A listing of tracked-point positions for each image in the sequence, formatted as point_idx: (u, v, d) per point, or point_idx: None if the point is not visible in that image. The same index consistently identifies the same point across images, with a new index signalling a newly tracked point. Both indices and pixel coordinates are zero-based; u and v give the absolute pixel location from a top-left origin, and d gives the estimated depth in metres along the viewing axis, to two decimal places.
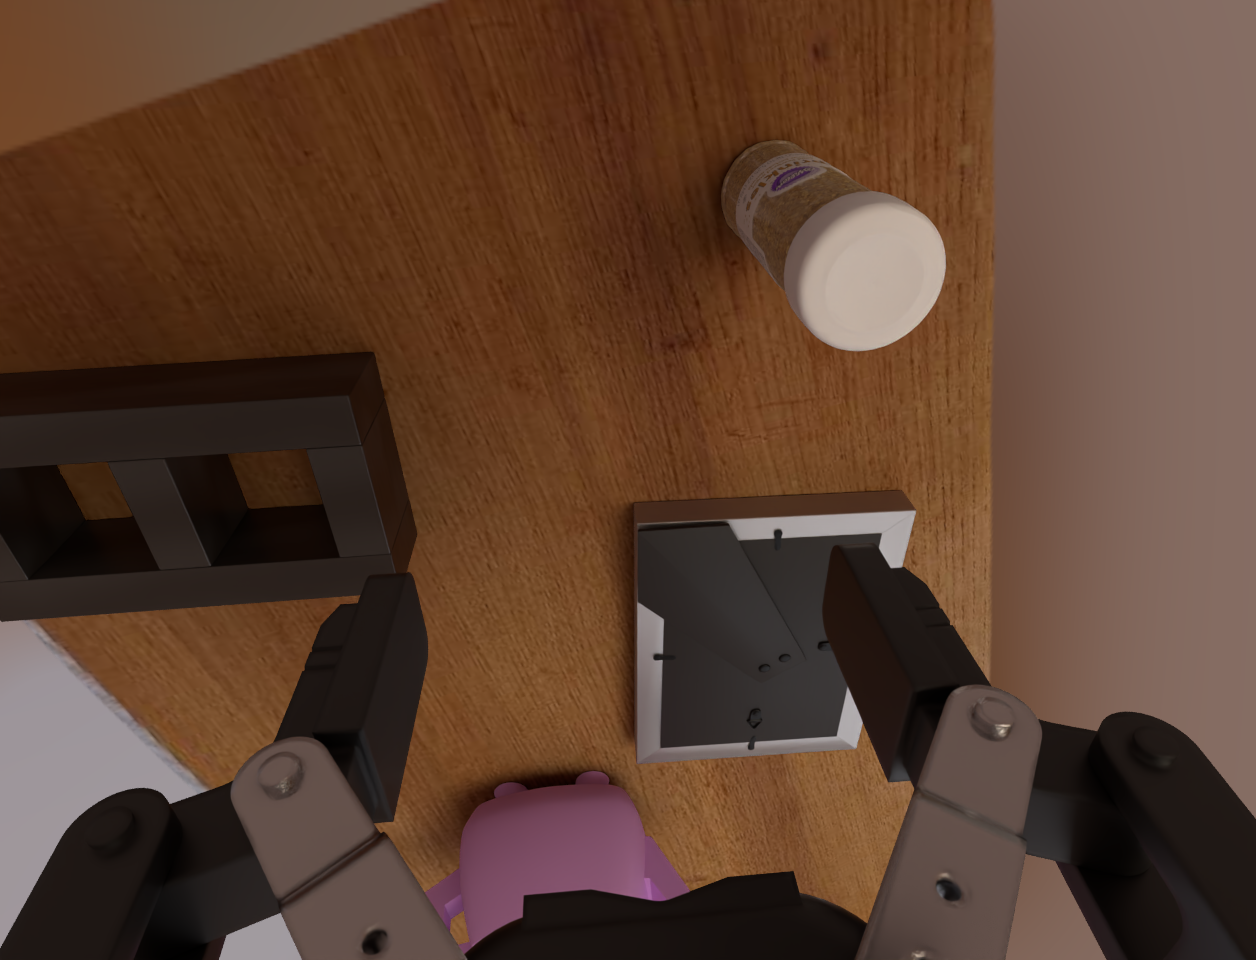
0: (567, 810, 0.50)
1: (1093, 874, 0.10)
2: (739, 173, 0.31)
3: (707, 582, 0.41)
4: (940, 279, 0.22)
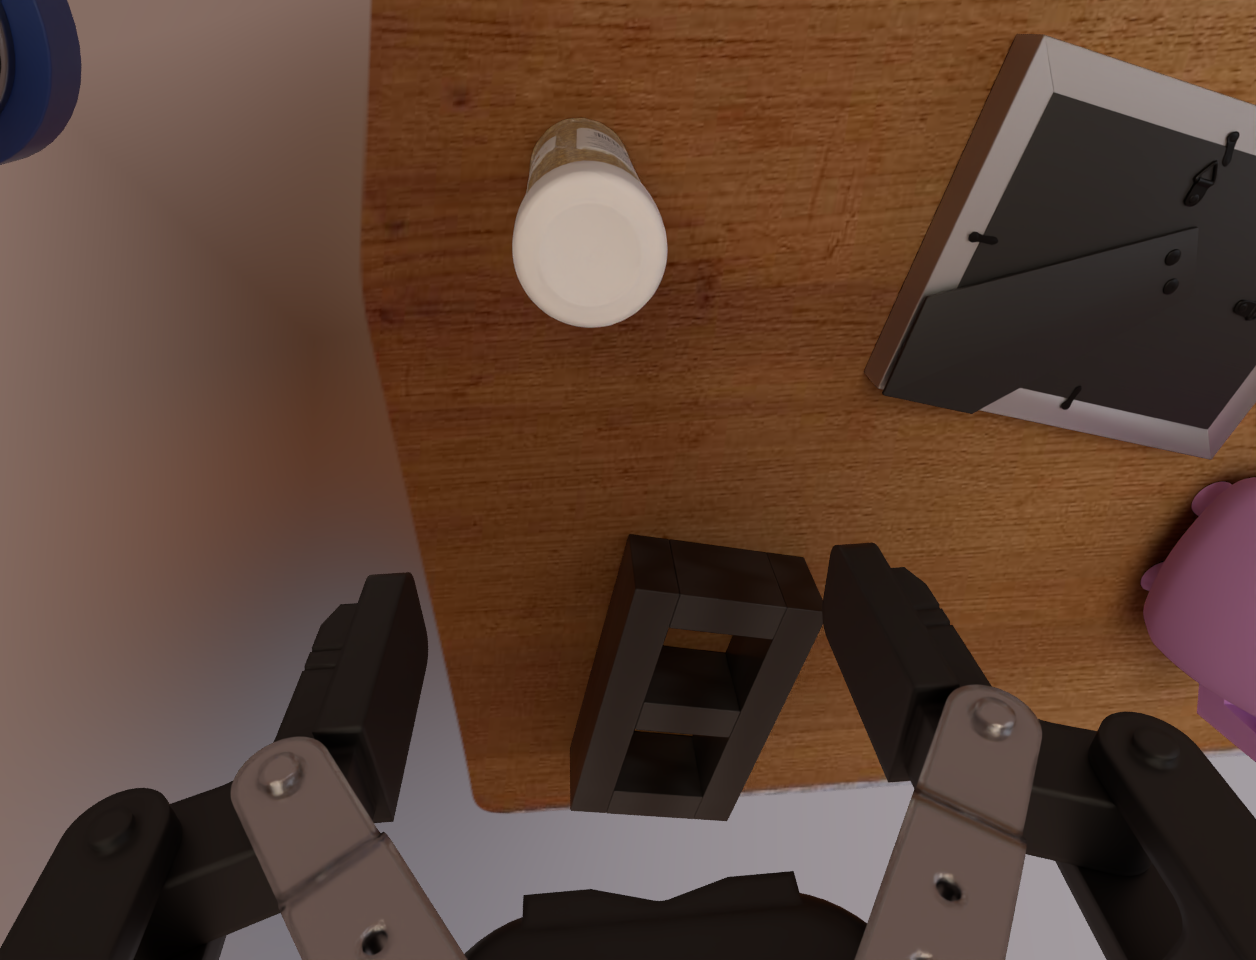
0: (1206, 554, 0.42)
1: (1093, 874, 0.10)
2: None
3: (991, 335, 0.35)
4: (605, 182, 0.20)
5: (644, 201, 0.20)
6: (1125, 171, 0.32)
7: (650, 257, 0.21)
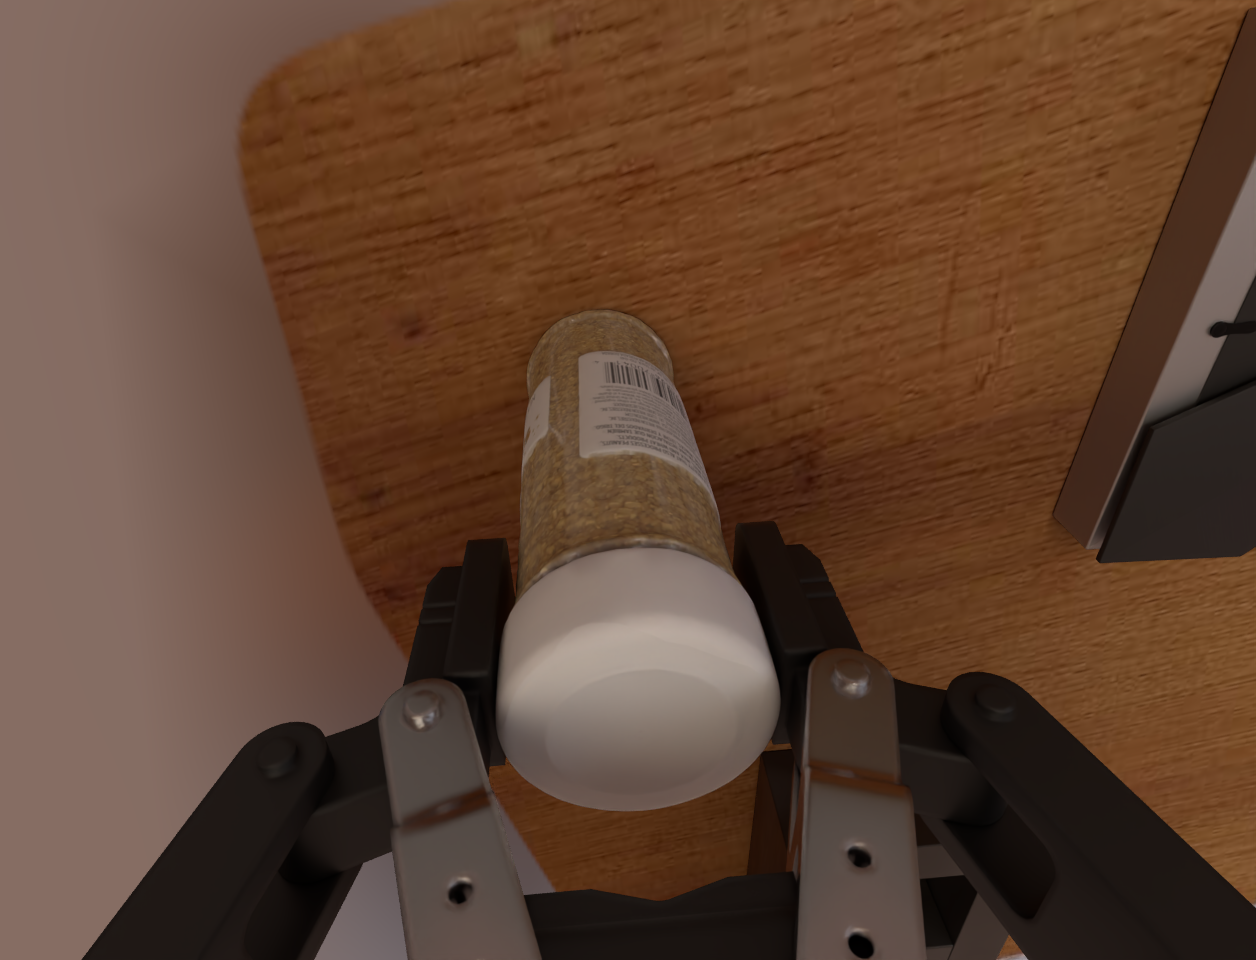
0: None
1: (963, 832, 0.10)
2: None
3: None
4: (639, 637, 0.10)
5: (721, 641, 0.10)
6: None
7: (751, 711, 0.11)
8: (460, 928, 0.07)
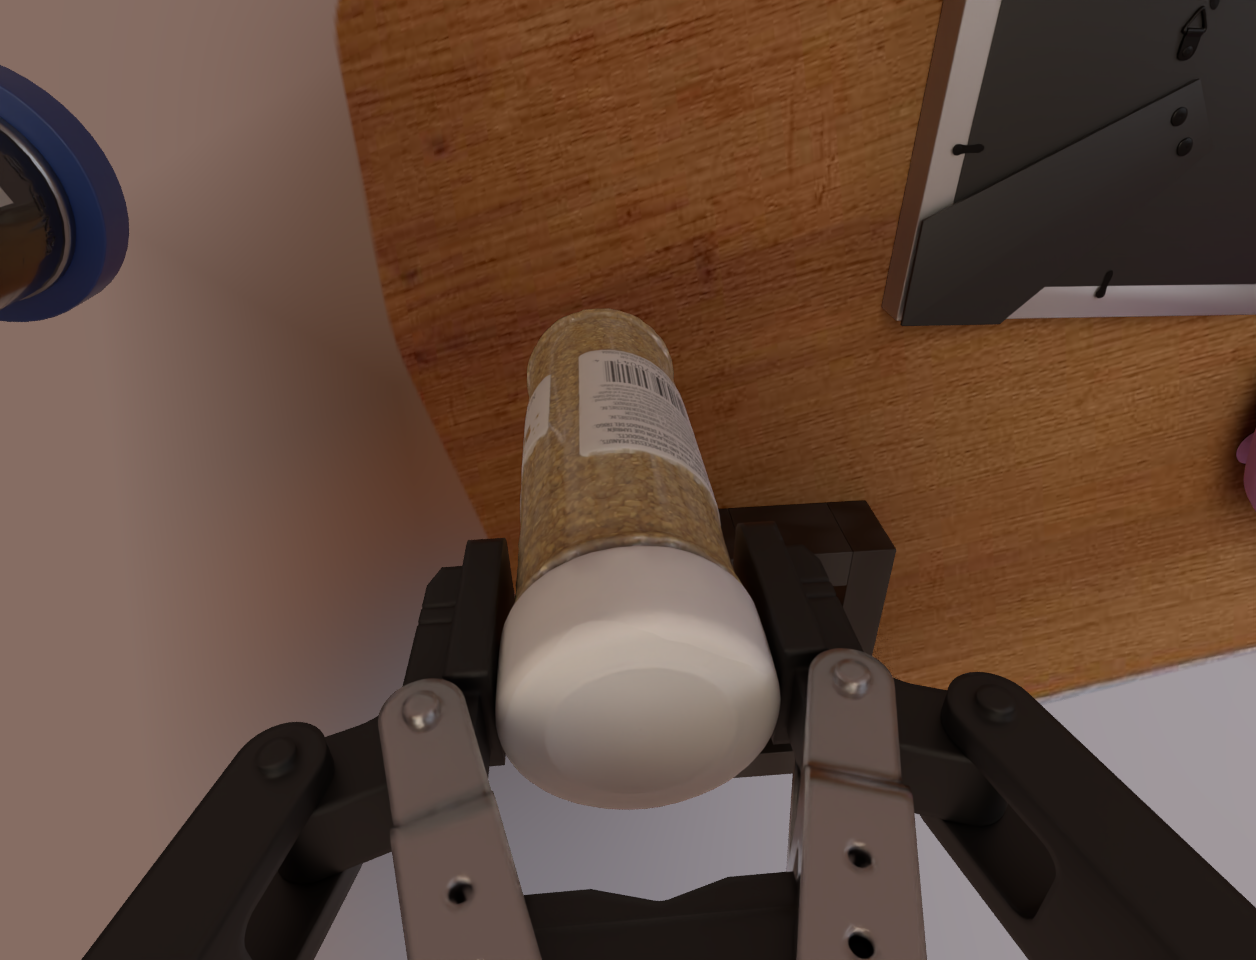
0: None
1: (964, 832, 0.10)
2: None
3: (1000, 242, 0.34)
4: (638, 635, 0.10)
5: (721, 639, 0.10)
6: (1103, 43, 0.30)
7: (751, 709, 0.11)
8: (460, 928, 0.07)
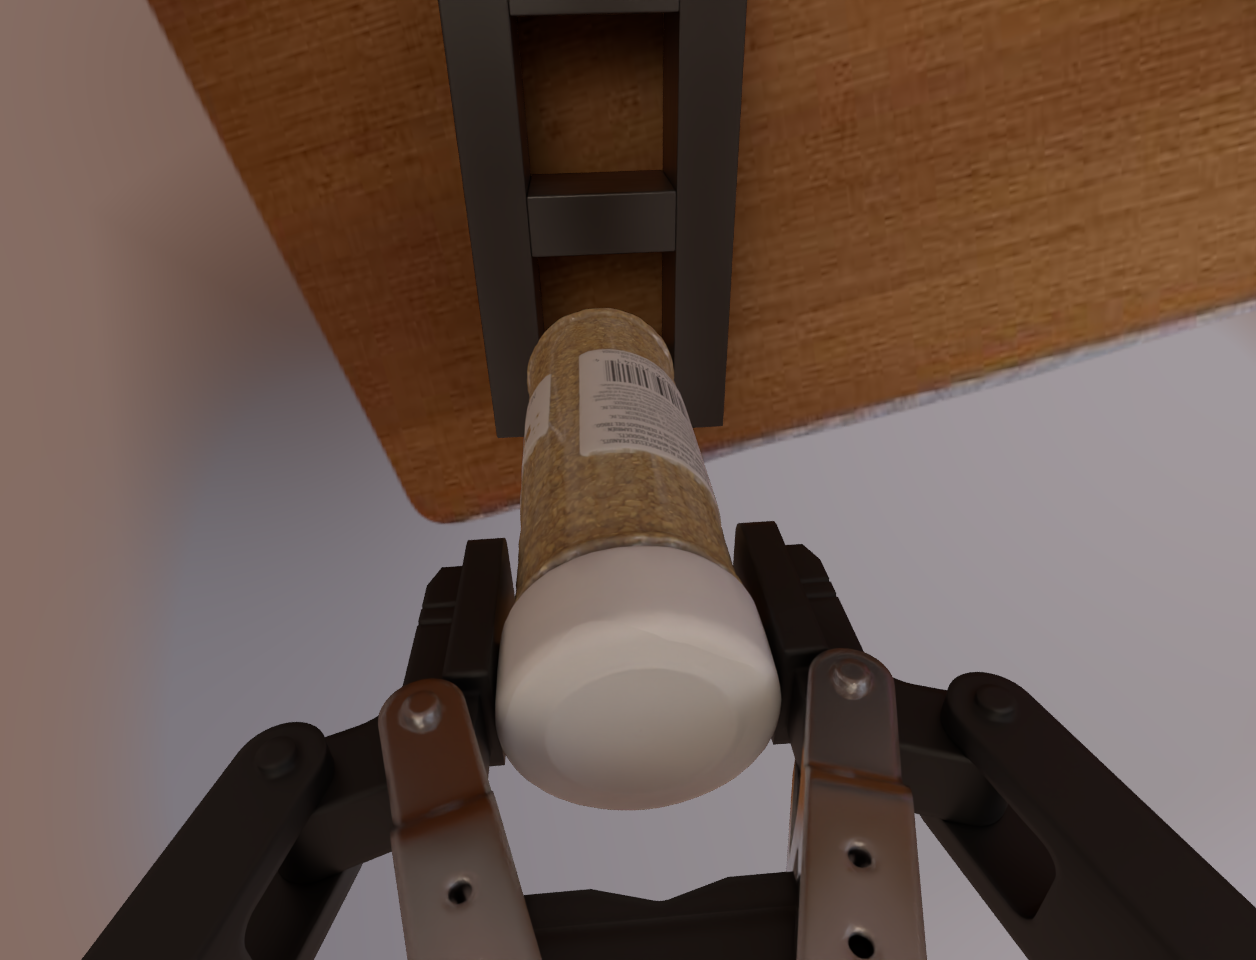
0: None
1: (963, 832, 0.10)
2: None
3: None
4: (639, 635, 0.10)
5: (721, 640, 0.10)
6: None
7: (751, 710, 0.11)
8: (460, 928, 0.07)
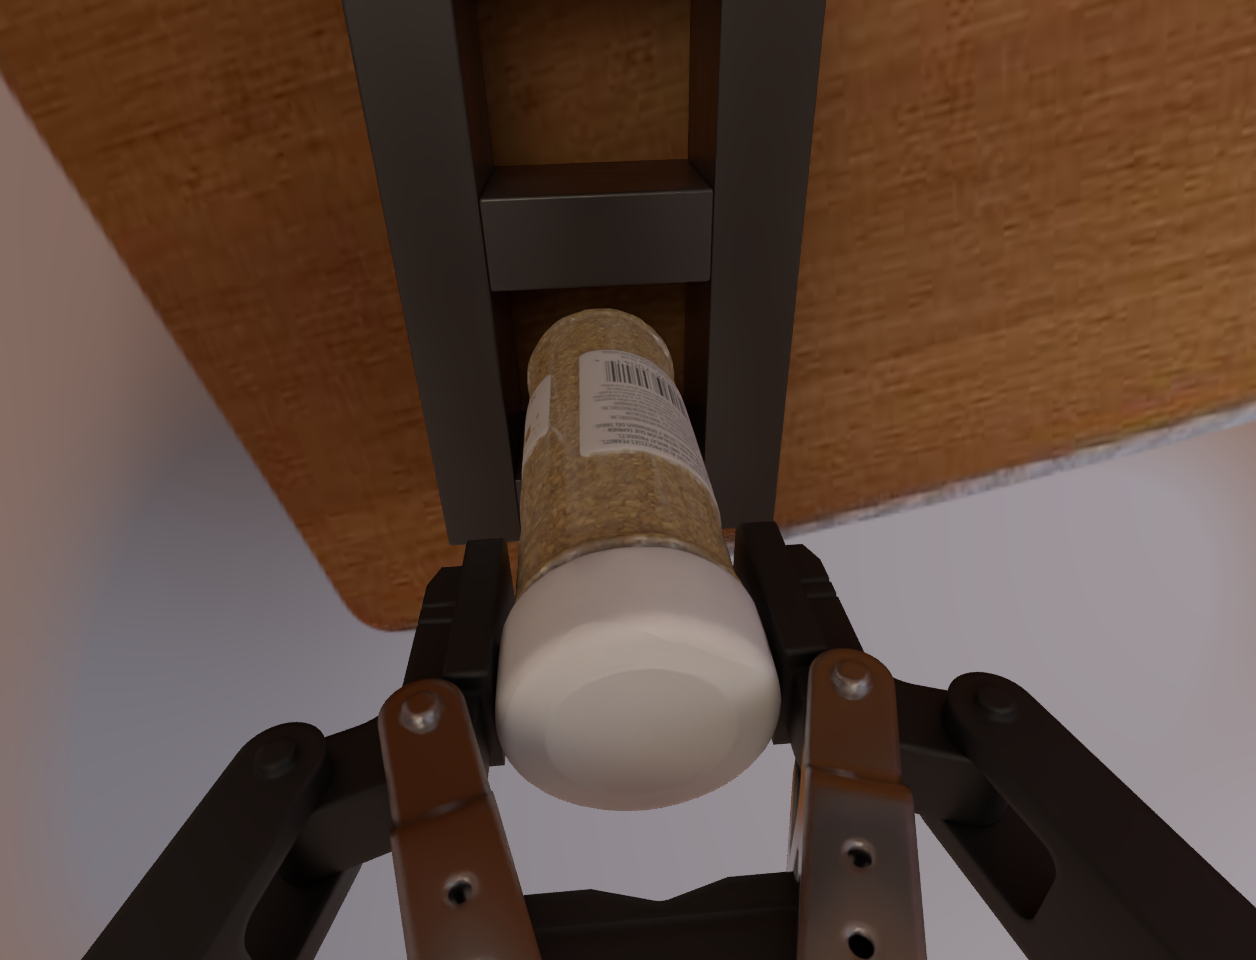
0: None
1: (964, 832, 0.10)
2: None
3: None
4: (639, 636, 0.10)
5: (721, 640, 0.10)
6: None
7: (751, 710, 0.11)
8: (459, 928, 0.07)
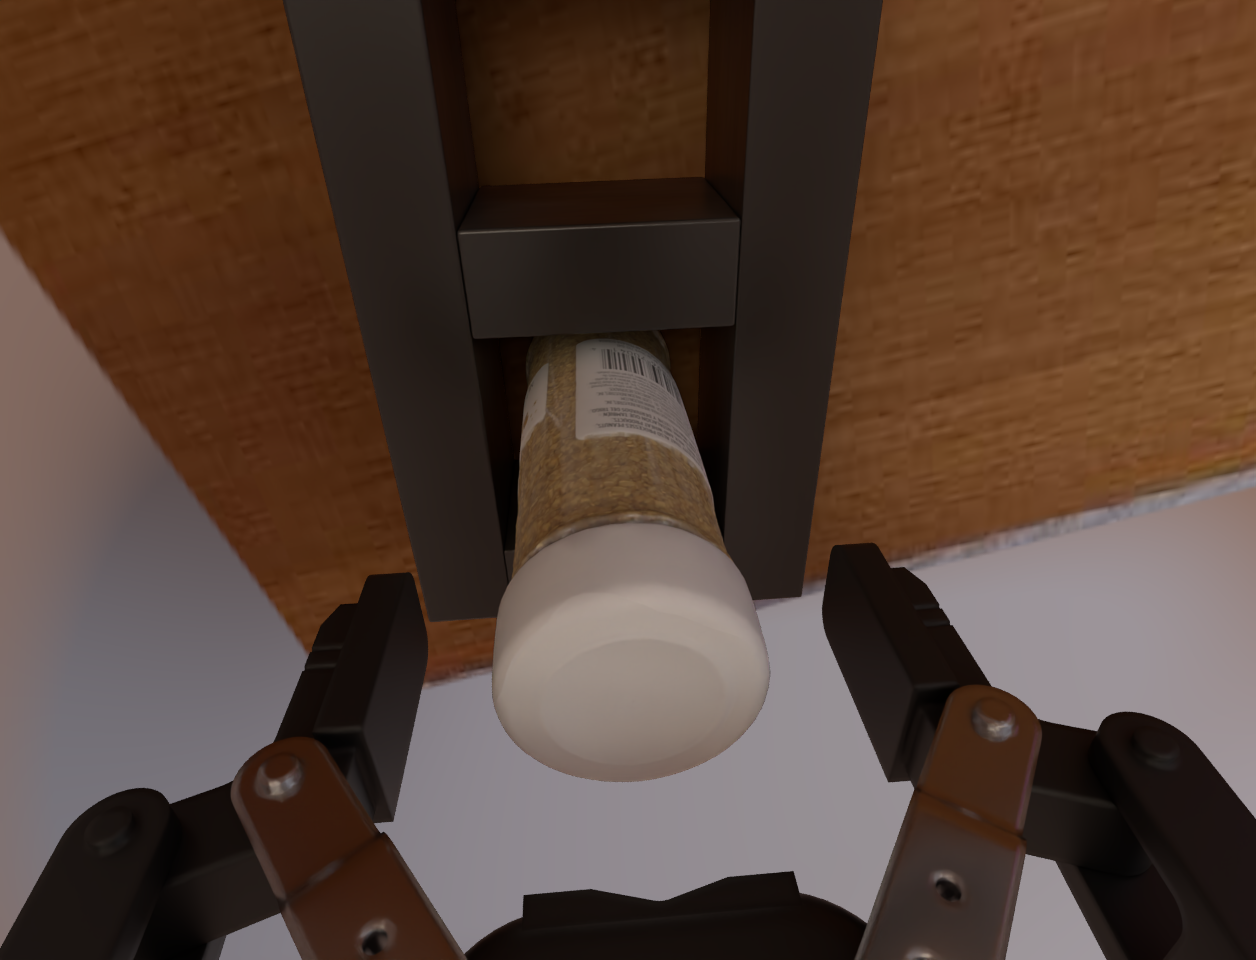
0: None
1: (1093, 874, 0.10)
2: None
3: None
4: (630, 606, 0.10)
5: (710, 612, 0.11)
6: None
7: (740, 681, 0.11)
8: None
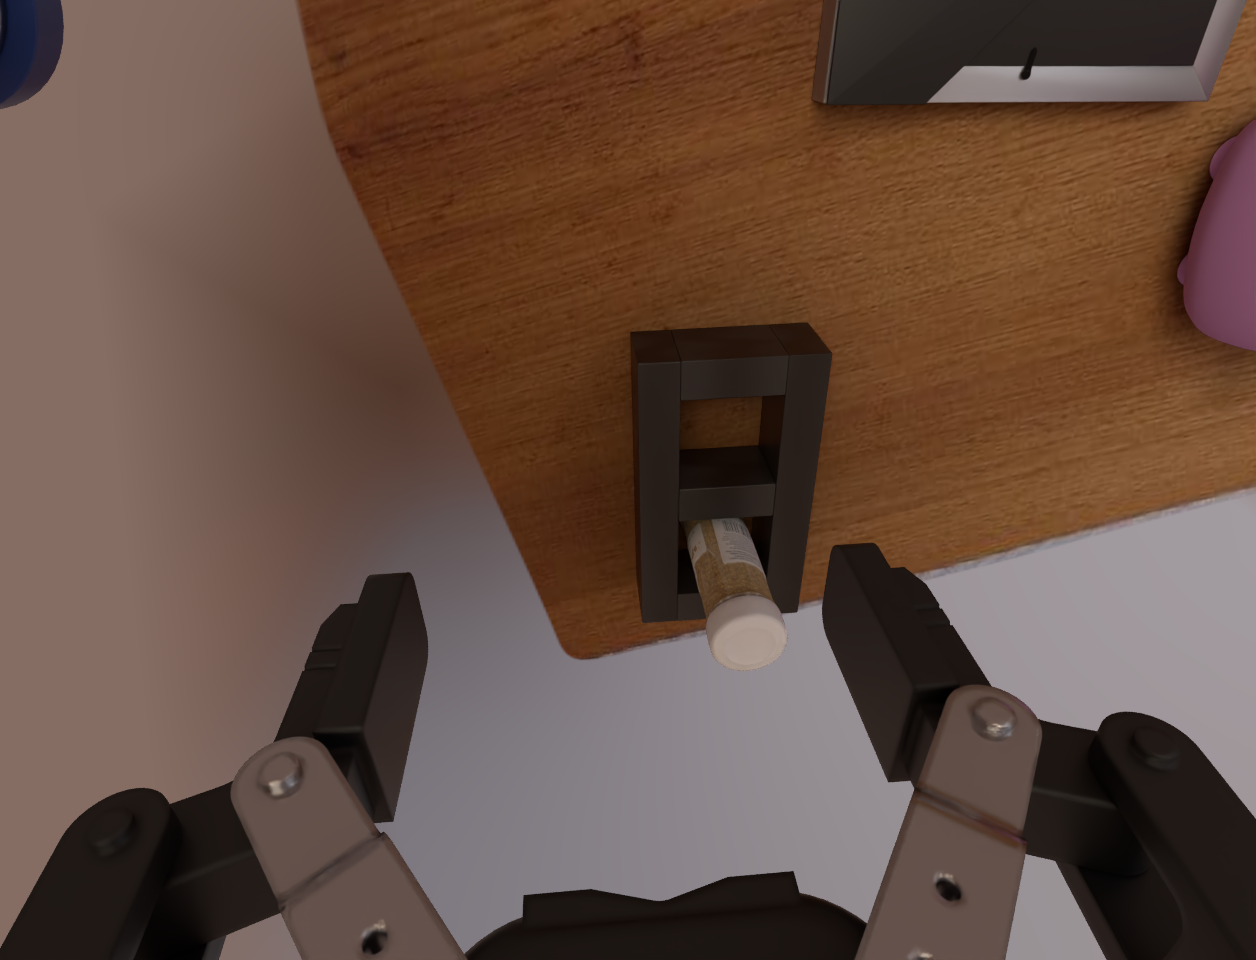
0: (1227, 206, 0.39)
1: (1093, 874, 0.10)
2: None
3: (920, 9, 0.34)
4: (752, 619, 0.40)
5: (772, 620, 0.41)
6: None
7: (779, 639, 0.41)
8: None
